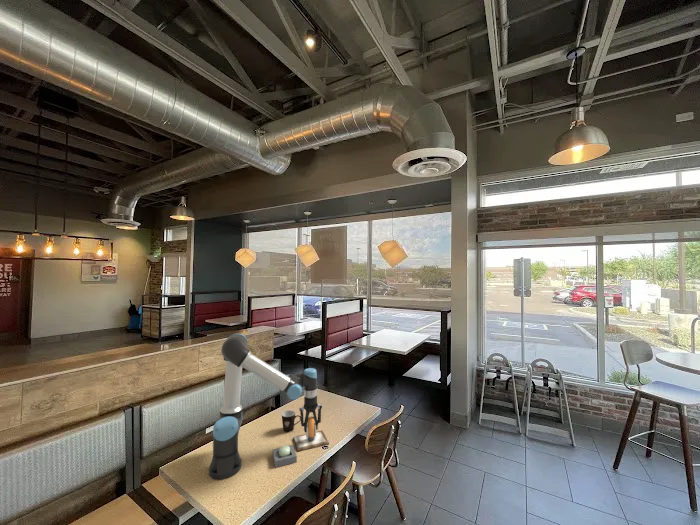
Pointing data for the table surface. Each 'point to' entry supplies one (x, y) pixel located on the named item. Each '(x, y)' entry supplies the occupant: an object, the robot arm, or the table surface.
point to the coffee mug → (289, 420)
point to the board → (304, 444)
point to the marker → (311, 429)
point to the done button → (284, 451)
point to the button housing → (284, 460)
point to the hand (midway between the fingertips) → (311, 436)
